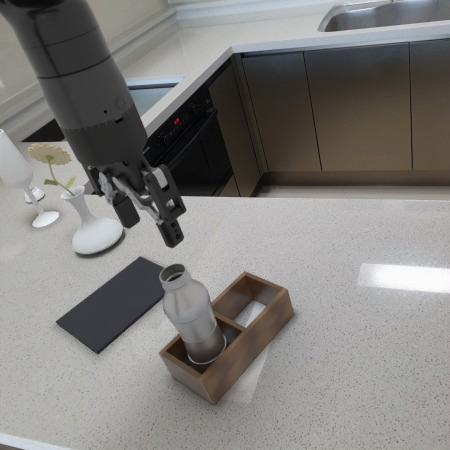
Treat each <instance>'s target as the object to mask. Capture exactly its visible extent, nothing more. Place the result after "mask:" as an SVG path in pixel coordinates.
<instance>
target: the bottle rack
mask: <svg viewBox="0 0 450 450" xmlns="http://www.w3.org/2000/svg"><path fill="white" fill-rule="evenodd" d="M253 300H254V301H256V302H259V303H261V304H263V305H264V306H265V307H264V308H263V309H262V310H261V311H260V312H259V313H258V314H257V316H256V317H255V318H253V320H252V321H251V322H250V323H249V324H248V325H247V326H244V325H241V324H240V323H238V322H236V321H234V319H235V318H236V317H237V316H238V315H239V314H240V313H241V312H242V311H243V310H244V309H245V308H246V307H247V306H248V305H249V304H250V303H251V302H252V301H253ZM211 305H212V310H213V313H214V316H215V319H216V322H217V325H218V326H219V328H220V330H221V332H222V334H223V335H224V336H225V337H226V339H227V340H228V342H229V343H230V346H229V347H228V348H227V349H226V350H225V351H224V352H223V353H222V354H221V355H220V356H219V357H218V358H217V359H216V361H215V362H214V363H213V364H212V365H211V366H210V367H209V368H208V369H207V370H206V371H205V372H204V373H203V374H200V373H199V372H197V371H196V370H194V369H192V368H191V366H189V365H190V362H189V358H188V353H187V350H186V347H185V344H184V341H183V340H182V338H181V336H180V334H179V333H178V334H177V335H175V337H173V338H172V339H171V340H170V341H168V343H166V345H165V346H164V347H163V348H162V349H161V350H160V351H159V352H158V355H159V356H160V358H161V360H162V361H163V363H164V366H165V367H166V368H167V370H168V372H169V374H170V375H171V377H172V378H173V379H175V380H176V381H178V382H179V383H180V384H182V385H183V386H185V387H187V388H188V389H189V390H191V391H192V392H194V393H195V394H197V395H198V396H199V397H201V398H203V399H204V400H206V401H207V402H208V403H210V404H211V405H212V406H216V404H217V403H218V402H219V401H220V400H221V398H223V396H224V395H225V394H226V393H227V392H228V390H229V389H230V388H231V387H232V386H233V385H234V384H235V383H236V382H237V380H238V379H239V378H240V377H241V376H242V374H244V372H245V371H246V370H247V369H248V368H249V366H250V365H252V363H253V362H254V361H255V360H256V358H257V357H258V356H259V355H260V354H261V353H262V351H264V350H265V348H266V347H267V346H268V345H269V344H270V343H271V342H272V340H273V339H274V338H275V337H276V336H277V335H278V333H279V332H280V331H281V330H282V329H283V327H284V326H285V325H286V324H287V323H288V322H289V321H290V320H291V319H292V317H294V315H295V312H294V307H293V303H292V300H291V296H290V292H289V288H286V287H283V286H282V285H279V284H277V283H274V282H272V281H270V280H267V279H265V278H263V277H260V276H258V275H255V274H253V273H251V272H248V271H246V270H243V272H242V273H240V275H238V277H236V278H235V279H234V280H233V281H232V282H231V283H230V284H229V285H228V286H227V287H225V288H224V290H222V291H221V293H219V294H218V295H217V296H216V297H215V298H214V299H213V300H212V301H211Z"/></svg>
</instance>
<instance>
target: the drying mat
mask: <svg viewBox="0 0 450 450" xmlns="http://www.w3.org/2000/svg"><path fill="white" fill-rule="evenodd" d="M164 268H165V267H164V266H162V265H160V264H158V263H155V262H153V261H151V260H149V259H147V258H145V257H144V256H141V255H140V256H139V257H137V258H136V259H135V260H133V261H132V262H131V263H129V264H128V265H127V266H125V267H124V268H123V269H121V270H120V271H119V272H117V274H115V275H114V276H113V277H111V278H110V279H108V280H107V281H106V282H105V283H103V284H102V285H101V286H100V287H98V288H97V289H96V290H94V291H93V292H92V293H91V294H89V295H88V296H86V297H85V298H84V299H83V300H81V301H80V302H79V303H77V304H75V306H74V307H72V308H71V309H69V310H68V311H67V312H66V313H64V314H63V315H62V316H60V317H59V318H57V319H56V321H55V323H56V324H57V325H58V326H59V327H60V328H62V329H63V330H64V331H66V332H67V333H68V334H70V335H71V336H72V337H74V338H75V339H77V340H78V341H79V342H80V343H82V344H83V345H85V346H86V347H87V348H88V349H90V350H91V351H92V352H94V353H95V354H97V355H99V354H100V353H102V351H104V350H105V349H106V348H107V347H108V346H110V344H112V343H113V342H114V341H115V340H116V339H118V337H119V336H121V335H122V334H124V333H125V331H127V330H128V329H129V328H130V327H131V326H132V325H133V324H134V323H136V322H137V321H138V320H139V319H141V318H142V317H143V316H144V315H145V314H146V313H147V312H149V310H151V309H152V308H153V307H154V306H155V305H157V304H158V303H159V302H160V301H161V300H163V297H164V294H165V290H164V289H163V287H162V283H161V281H160V278H159V276H160V273H161V271H162V270H163V269H164Z"/></svg>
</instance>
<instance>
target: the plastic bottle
mask: <svg viewBox="0 0 450 450" xmlns="http://www.w3.org/2000/svg"><path fill="white" fill-rule="evenodd" d="M159 278H160V281H161V283H162V287H163V289H164V290H165V294H164V297H163V298H162V311H163V313H164V315H165V317H166V318H167V319H168V321H169V322H170V323H171V324H172V326H173V327H174V328H175V329H176V331H177V332H178V334H180V336H181V338H182V340H183V341H184V344H185V347H186V350H187V353H188V358H189V362H190V364H189V365H190V366H189V367H191V368H192V369H194V370H196V371H197V372H199V373H200V374H203V373H204V372H205V371H206V370H207V369H208V368H209V367H210V366H211V365H212V364H213V363H214V362H215V361H216V359H217V358H218V357H219V356H220V355H221V354H222V353H223V352H224V351H225V350H226V349H227V348H228V347H229V346H230V345H231V344H230V343H229V342H228V340H227V339H226V337H225V336H224V335H223V334H222V332H221V330H220V328H219V326H218V325H217V322H216V319H215V316H214V313H213V310H212V305H211V302H212V301H211V296H210V293H209V289H208V288H207V286H206V285H205V284H204V283H203V282H202V281H200V280H197V279H195V278H192V275H191V273H190V271H189V270H188V268H187V266H186V265H185V264H184V263H181V262H174V263H171V264H169V265H167V266H165V267H164V269H163V270H162V271H161V273H160V276H159Z"/></svg>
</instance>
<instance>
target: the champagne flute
mask: <svg viewBox="0 0 450 450" xmlns="http://www.w3.org/2000/svg"><path fill="white" fill-rule="evenodd" d="M0 178H1V180H2V182H3V183H4V184H5V185H6V186H8V187H10V188H14V189H19V190H23V192H24V193H25V192H26V194H27V195H28V197H29V198H30V200H31V201H32V202H31V203H32V204H33V206H34V207H35V209H36V212H37V213H38V215H37V216H36V217H35V219H33V221H32V227H33V228H43V227H45V226H46V227H47V226H49V225H51V224H52V223H54V222H55V221H56V220H58V218H59V216H60V212H58V211H55V210H54V211H44V209H43V207H42V205H40V203H39V200H38V201H37V200H36V198H35V197H34V195H33V193H32V192H31V190H30V189H29V188H30V185H31V184H32V181H33V178H34V169H33V168H32V167H31V166H30V165H29V163H28V162H27V160H26V159H25V158H24V156H23V155H22V154H21V152H20V151H19V149H18V148H17V147H16V145H15V144H14V143H13V142H12V140H11V139H10V138H9V136H8V135H7V134H6V132H5V131H4V130H3V128H2V129H1V128H0Z"/></svg>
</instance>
